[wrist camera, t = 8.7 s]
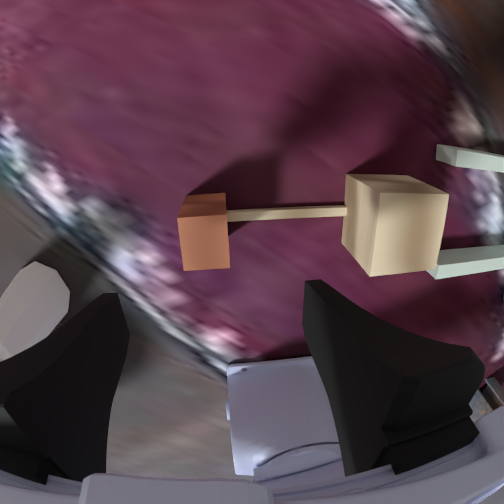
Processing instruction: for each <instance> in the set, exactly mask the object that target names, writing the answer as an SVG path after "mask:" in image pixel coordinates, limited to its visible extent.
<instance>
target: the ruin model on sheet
mask: <svg viewBox="0 0 504 504" xmlns="http://www.w3.org/2000/svg"><path fill="white" fill-rule="evenodd" d="M485 381H486V383H487V384H488V385H487V386H486V388H485V389H484V390H483V392H482V393H481V391H480V390H479V389H478V390H477V391H476V393H475V395H474V396H473V398H472V400H471V401H470V403H469V405H470V407H471V408H472V410H473V414H472V415H471V416H470V418H471V419H472V421H473V422H475V421H477V420H478V419H479V418H480V417H482V416H484V415H486V414H488V413H489V412H491V411H493V410H495V409H497V408H499V407H501V406H503V407H504V389H503V388H502V387H501V385H500V384H499V383H498V381H497V380H496V379H495V377H491V378H487V379H485Z"/></svg>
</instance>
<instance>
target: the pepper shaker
mask: <svg viewBox="0 0 504 504" xmlns="http://www.w3.org/2000/svg"><path fill="white" fill-rule="evenodd" d="M69 298H70V291H69V289H68V288H67V286H66V284H65V283H64V281H63V280H62V278H61V277H60V275H59V273H58V272H57V270H55V269H52V268H50V267H48V266H45V265H43V264H41V263H39V262H36V261H34V262H33V263H31V264H29V265H28V266H26V267H24V268H23V269H21V270H20V271H19V272H18V274H17V275H16V276H15V278H14V279H13V280H12V282H11V283H10V285H9V286H8V287H7V289H6V290H5V292H4V293H3V295H2V296H1V298H0V362H1V361H3V360H6V359H8V358H10V357H12V356H14V355H16V354H18V353H20V352H22V351H24V350H26V349H28V348H30V347H31V346H33V345H35V344H36V343H38V342H40V341H41V340H43V339H44V338H46V337H47V336H48V335H49V334H50V333H51V332H52V331H53V329H54V328H55V327H56V326H57V324H58V323H59V322H60V321H61V320H62V318H63V317H64V316H65V315H66V314H67V312H68V307H69Z"/></svg>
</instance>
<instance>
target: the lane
mask: <svg viewBox="0 0 504 504" xmlns="http://www.w3.org/2000/svg"><path fill="white" fill-rule="evenodd" d="M436 160H438V161H441V162H444V163H447V164H450V165H453V166H456V167H465V168H474V169H482V170H489V171H497V172H503V173H504V155H499V154H494V153H489V152H484V151H478V150H473V149H467V148H460V147H454V146H447V145H439V144H437V148H436ZM503 268H504V244H502V245H492V246H481V247H470V248H459V249H448V250H439V254H438V259H437V263H436V268H435V269H432V270H426V271H427V272H428V273H430V274H431V275H432V276H433V277H434V278H435V279H441V278H448V277H455V276H461V275H468V274H474V273H480V272H486V271H492V270H498V269H503Z"/></svg>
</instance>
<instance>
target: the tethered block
mask: <svg viewBox="0 0 504 504" xmlns="http://www.w3.org/2000/svg"><path fill="white" fill-rule="evenodd" d="M448 199H449V194H447V193H445V192H443V191H441V190H439V189H437V188H435V187H433V186H430V185H428V184H426V183H424V182H422V181H419V180H417V179H415V178H412V177H410V176H408V175H381V174H346V186H345V203H344V205H336V206H306V207H283V208H263V209H244V210H228V211H226V195H225V193H212V194H198V195H186V197H185V200H184V202H183V205H182V207H181V210H180V212H179V215H178V218H177V220H178V228H179V236H180V244H181V252H182V259H183V267H184V271H189V270H205V269H220V268H230V258H229V243H228V227H227V222H234V221H250V220H267V219H286V218H307V217H330V216H344V218H343V231H342V244H343V245H344V246H345V248H346V249H347V250H348V251H349V252H350V253H351V255H352V256H353V257H354V258H355V259H356V261H357V262H358V263H359V264H360V265H361V267H362V268H363V269H364V270H365V272H366V273H367V274H368V275H369V276H370V277H371V276H380V275H389V274H398V273H407V272H415V271H424V270H432V269H435V268H436V263H437V259H438V254H439V250H440V245H441V240H442V235H443V229H444V224H445V218H446V212H447V205H448Z"/></svg>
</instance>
